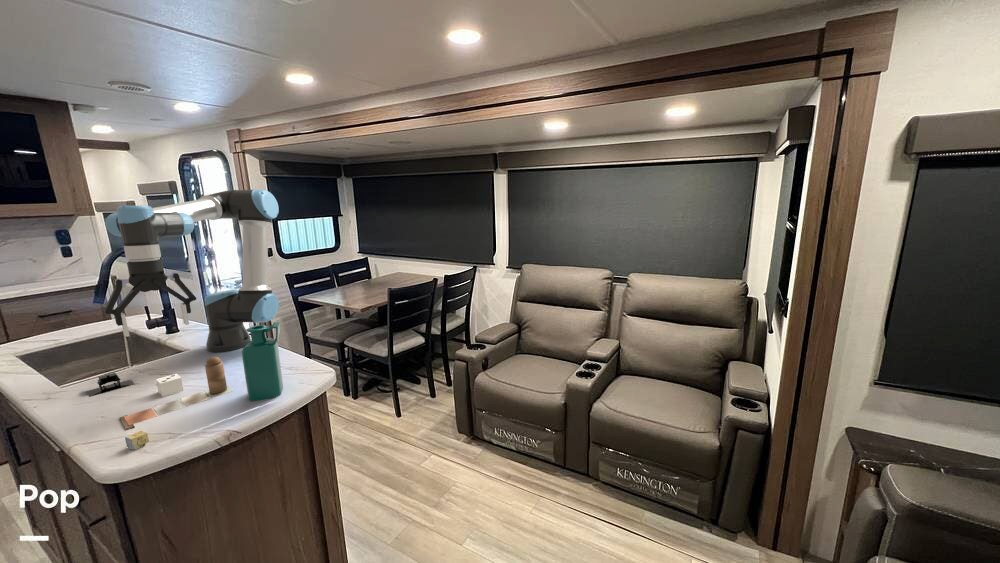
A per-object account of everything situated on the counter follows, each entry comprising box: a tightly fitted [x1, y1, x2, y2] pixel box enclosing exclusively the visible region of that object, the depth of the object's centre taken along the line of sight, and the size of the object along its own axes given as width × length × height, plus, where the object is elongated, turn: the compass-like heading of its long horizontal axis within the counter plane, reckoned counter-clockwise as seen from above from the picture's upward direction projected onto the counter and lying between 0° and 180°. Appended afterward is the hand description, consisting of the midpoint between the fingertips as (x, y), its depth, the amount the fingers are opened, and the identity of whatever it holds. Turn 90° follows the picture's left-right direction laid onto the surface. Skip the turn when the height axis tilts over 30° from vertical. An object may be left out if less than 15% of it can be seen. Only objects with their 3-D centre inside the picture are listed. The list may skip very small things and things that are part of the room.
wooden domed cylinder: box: [204, 356, 228, 395], centre depth 116 cm, size 4×4×11 cm
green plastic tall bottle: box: [241, 321, 284, 402], centre depth 113 cm, size 10×8×22 cm
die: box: [155, 373, 184, 398], centre depth 117 cm, size 5×5×5 cm
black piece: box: [85, 372, 136, 398], centre depth 121 cm, size 13×8×5 cm, turn 144°
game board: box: [119, 385, 234, 431], centre depth 110 cm, size 25×9×1 cm, turn 142°
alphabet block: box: [124, 430, 150, 451], centre depth 91 cm, size 3×3×3 cm
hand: (158, 329), depth 113 cm, fingers open, 13 cm apart
